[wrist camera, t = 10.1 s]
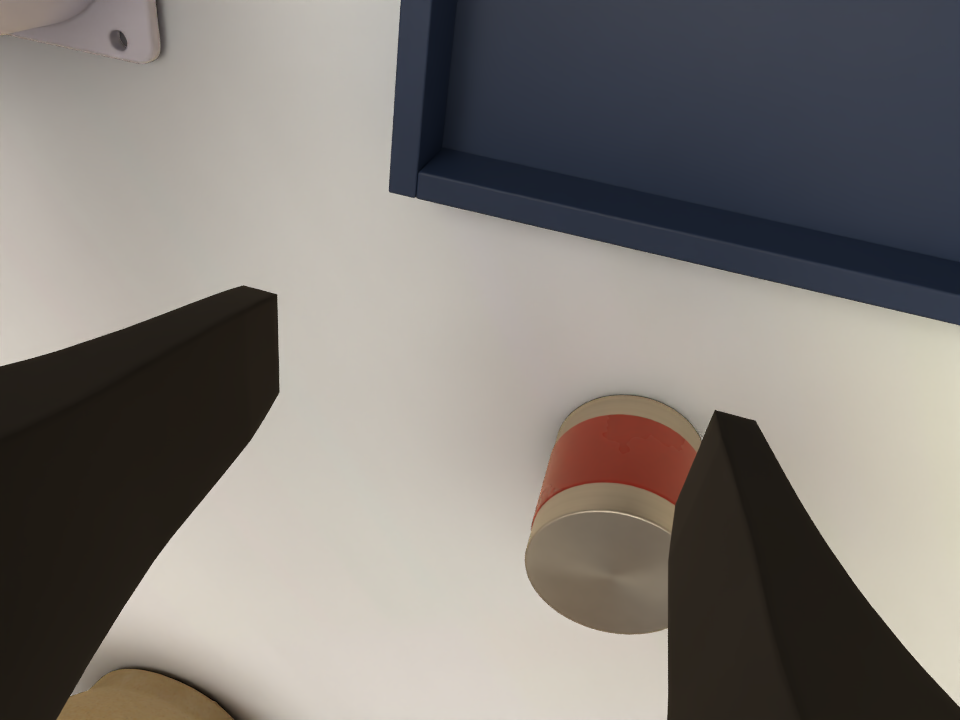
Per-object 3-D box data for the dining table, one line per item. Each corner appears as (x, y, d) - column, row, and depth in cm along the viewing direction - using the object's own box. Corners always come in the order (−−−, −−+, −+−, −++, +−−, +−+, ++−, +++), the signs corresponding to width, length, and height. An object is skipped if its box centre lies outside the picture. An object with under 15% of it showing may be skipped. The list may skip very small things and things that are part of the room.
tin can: (539, 481, 25) (505, 599, 21) (578, 373, 22) (548, 484, 18) (673, 527, 24) (666, 657, 20) (731, 423, 22) (735, 549, 17)
